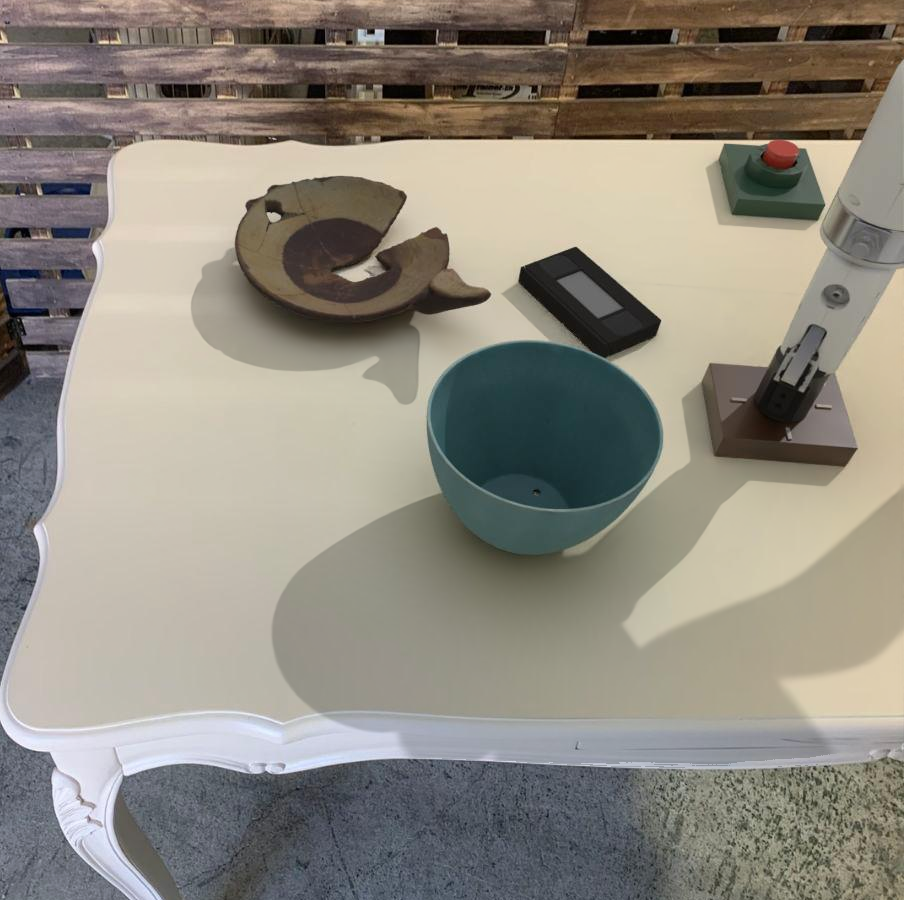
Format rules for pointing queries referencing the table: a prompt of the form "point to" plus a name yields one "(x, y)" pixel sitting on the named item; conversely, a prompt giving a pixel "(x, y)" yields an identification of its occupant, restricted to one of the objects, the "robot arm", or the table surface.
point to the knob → (815, 386)
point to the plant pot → (540, 443)
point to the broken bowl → (344, 253)
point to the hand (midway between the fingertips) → (786, 393)
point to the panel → (774, 421)
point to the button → (780, 154)
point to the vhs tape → (589, 302)
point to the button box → (769, 185)
